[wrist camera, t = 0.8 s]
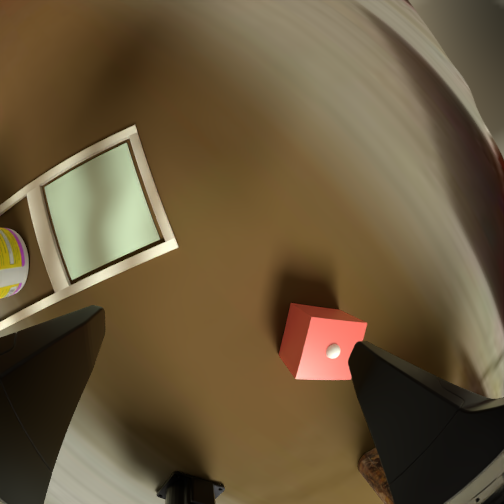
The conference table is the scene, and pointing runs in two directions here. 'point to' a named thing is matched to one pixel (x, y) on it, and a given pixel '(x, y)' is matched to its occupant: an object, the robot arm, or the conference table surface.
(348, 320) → the red die
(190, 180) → the conference table surface
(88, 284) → the silver picture frame
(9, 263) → the supplement bottle
